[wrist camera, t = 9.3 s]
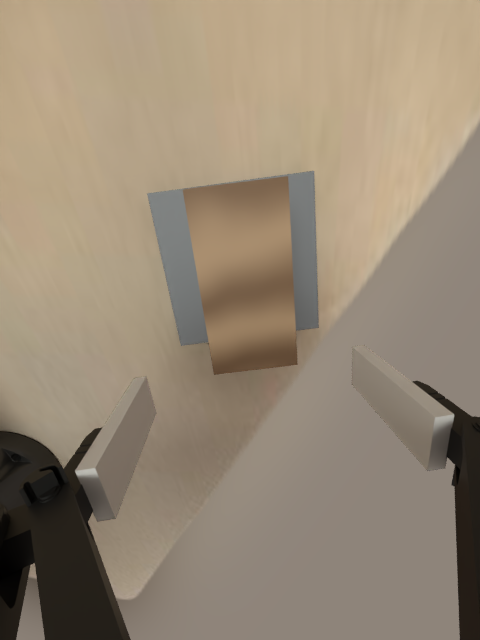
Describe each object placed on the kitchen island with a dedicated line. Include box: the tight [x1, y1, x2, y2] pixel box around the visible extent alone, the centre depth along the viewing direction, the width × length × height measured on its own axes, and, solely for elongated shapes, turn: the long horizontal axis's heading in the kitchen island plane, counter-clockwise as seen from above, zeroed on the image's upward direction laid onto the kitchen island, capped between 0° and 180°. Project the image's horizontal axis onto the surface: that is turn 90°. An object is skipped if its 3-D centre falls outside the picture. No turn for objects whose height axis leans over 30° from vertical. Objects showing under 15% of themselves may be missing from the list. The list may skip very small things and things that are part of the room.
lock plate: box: [147, 171, 319, 346], centre depth 28 cm, size 18×18×8 cm
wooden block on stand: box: [183, 176, 297, 375], centre depth 24 cm, size 14×7×12 cm, turn 7°
